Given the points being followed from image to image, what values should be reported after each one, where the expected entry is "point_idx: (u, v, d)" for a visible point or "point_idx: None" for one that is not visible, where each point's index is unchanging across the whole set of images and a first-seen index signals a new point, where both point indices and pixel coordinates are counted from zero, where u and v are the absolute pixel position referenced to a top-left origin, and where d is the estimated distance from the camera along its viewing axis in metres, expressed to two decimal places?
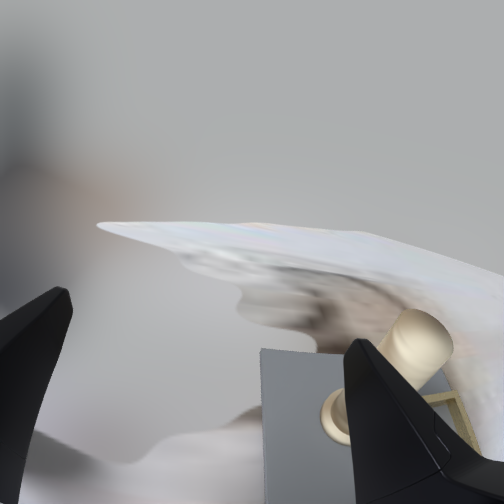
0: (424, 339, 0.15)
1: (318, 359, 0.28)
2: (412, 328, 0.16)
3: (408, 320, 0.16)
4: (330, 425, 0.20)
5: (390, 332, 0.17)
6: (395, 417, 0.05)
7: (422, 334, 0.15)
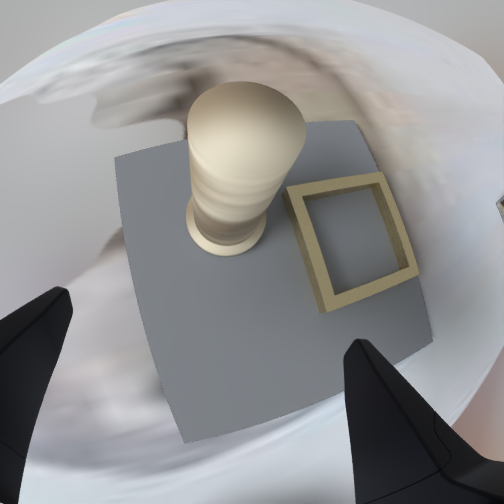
0: (236, 134, 0.10)
1: (182, 148, 0.23)
2: (215, 118, 0.10)
3: (211, 105, 0.10)
4: (195, 235, 0.20)
5: None
6: (395, 417, 0.05)
7: (235, 124, 0.10)
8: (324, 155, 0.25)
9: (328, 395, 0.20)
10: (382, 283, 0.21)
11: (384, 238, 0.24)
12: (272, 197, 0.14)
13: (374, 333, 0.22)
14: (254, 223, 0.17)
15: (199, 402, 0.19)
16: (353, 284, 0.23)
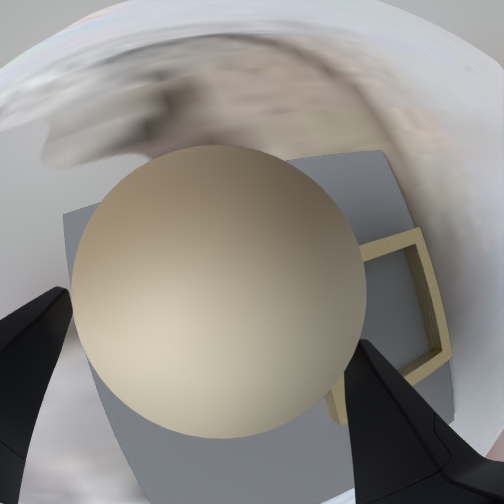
0: (191, 334, 0.04)
1: None
2: (135, 280, 0.04)
3: (126, 233, 0.04)
4: None
5: None
6: (395, 417, 0.05)
7: (186, 303, 0.04)
8: (346, 204, 0.19)
9: (334, 495, 0.14)
10: (410, 378, 0.15)
11: (415, 314, 0.18)
12: None
13: None
14: None
15: None
16: None
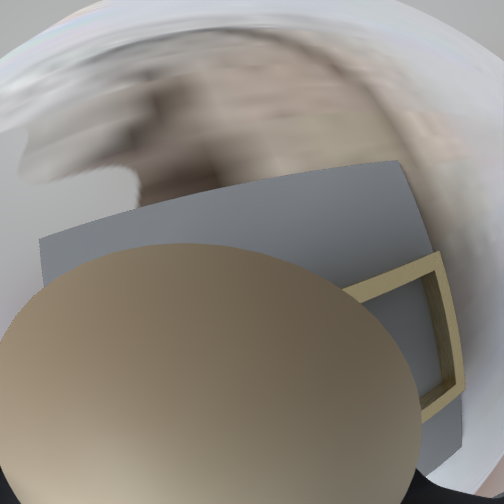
0: None
1: (132, 224, 0.14)
2: (71, 480, 0.02)
3: (40, 415, 0.02)
4: None
5: None
6: None
7: None
8: (359, 226, 0.16)
9: None
10: (421, 416, 0.13)
11: (430, 345, 0.15)
12: None
13: None
14: None
15: None
16: None
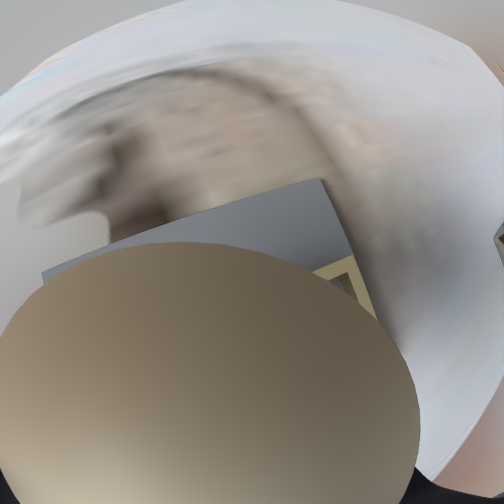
0: None
1: None
2: (68, 478, 0.02)
3: (38, 413, 0.02)
4: None
5: None
6: None
7: None
8: (278, 241, 0.21)
9: None
10: None
11: None
12: None
13: None
14: None
15: None
16: None
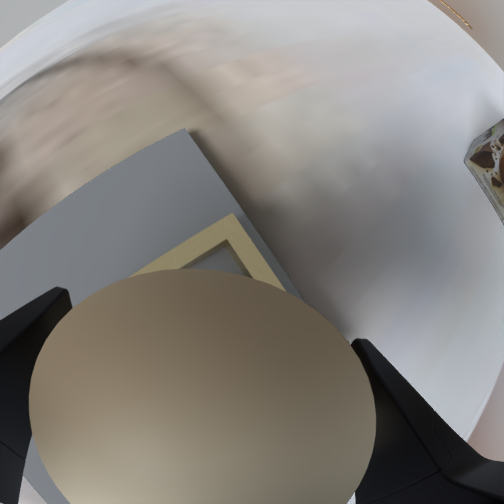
0: (169, 500, 0.03)
1: None
2: (98, 448, 0.03)
3: (77, 396, 0.03)
4: None
5: None
6: (395, 417, 0.05)
7: (160, 475, 0.03)
8: (133, 219, 0.15)
9: None
10: None
11: None
12: None
13: None
14: None
15: None
16: None
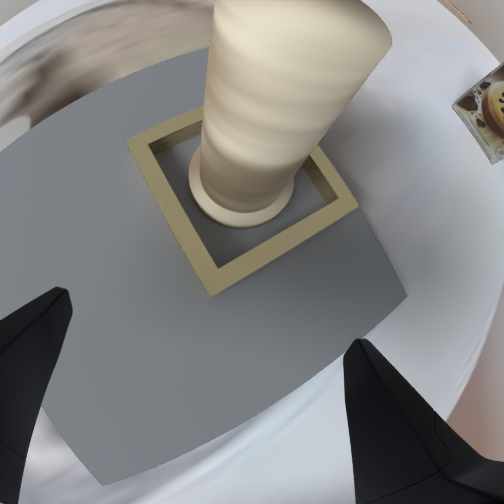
0: (295, 7, 0.05)
1: (23, 142, 0.14)
2: None
3: None
4: (200, 197, 0.15)
5: None
6: (395, 417, 0.05)
7: None
8: (187, 89, 0.17)
9: (259, 409, 0.14)
10: (297, 231, 0.15)
11: None
12: (326, 130, 0.09)
13: (307, 307, 0.16)
14: (288, 176, 0.12)
15: (95, 439, 0.12)
16: (255, 244, 0.16)
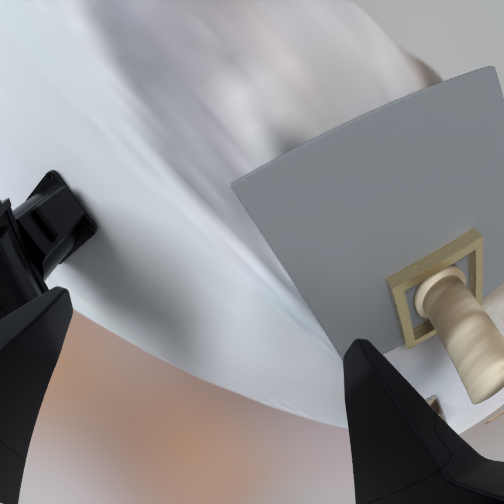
0: (495, 384, 0.13)
1: None
2: None
3: None
4: (439, 276, 0.21)
5: None
6: (395, 417, 0.05)
7: (498, 382, 0.13)
8: (495, 256, 0.22)
9: (310, 304, 0.24)
10: (407, 323, 0.24)
11: None
12: None
13: (364, 324, 0.25)
14: (439, 336, 0.20)
15: (289, 192, 0.19)
16: None
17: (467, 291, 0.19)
